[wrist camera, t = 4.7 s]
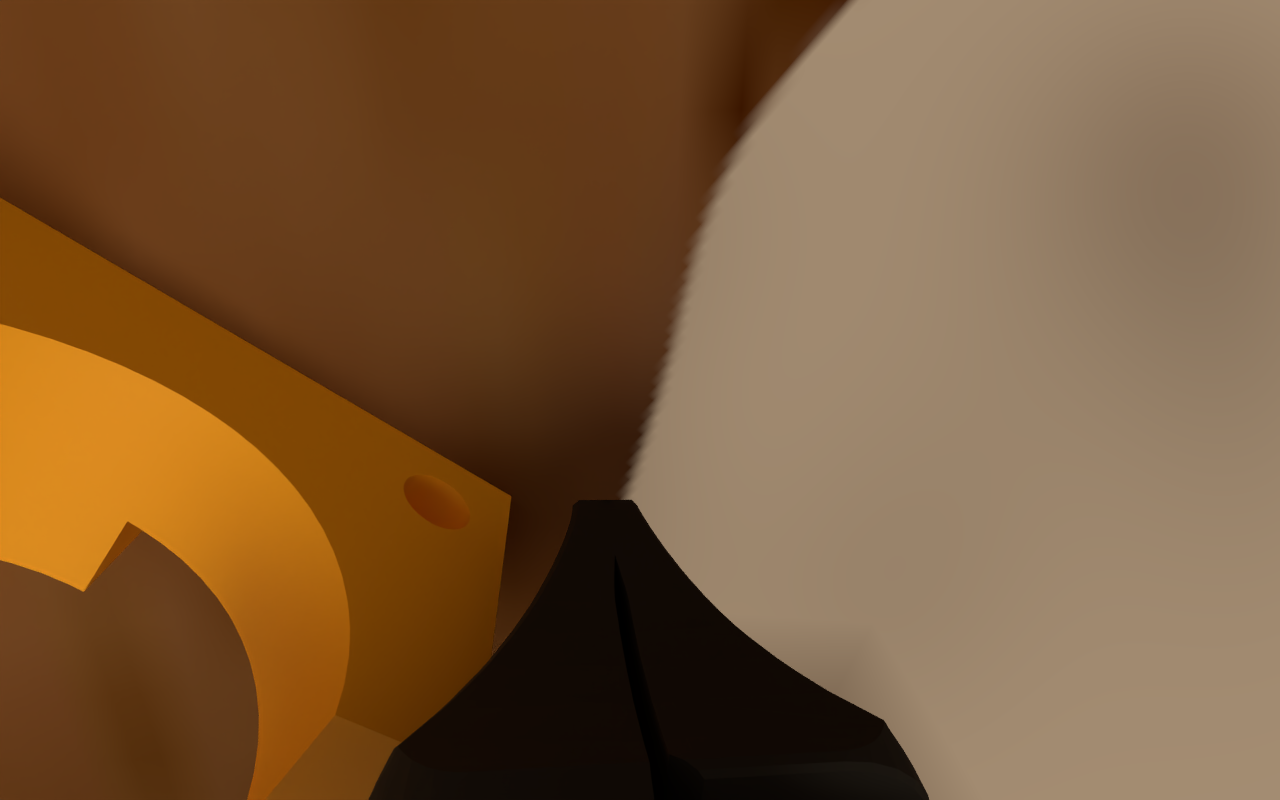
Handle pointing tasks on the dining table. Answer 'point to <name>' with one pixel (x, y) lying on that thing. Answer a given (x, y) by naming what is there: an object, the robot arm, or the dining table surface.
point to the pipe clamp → (243, 507)
